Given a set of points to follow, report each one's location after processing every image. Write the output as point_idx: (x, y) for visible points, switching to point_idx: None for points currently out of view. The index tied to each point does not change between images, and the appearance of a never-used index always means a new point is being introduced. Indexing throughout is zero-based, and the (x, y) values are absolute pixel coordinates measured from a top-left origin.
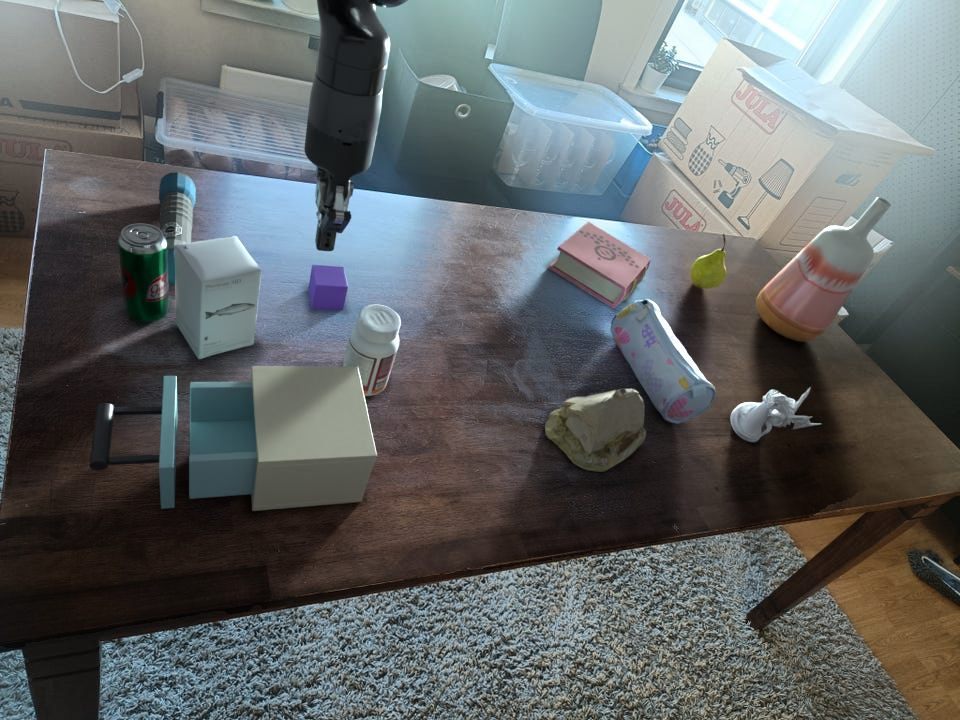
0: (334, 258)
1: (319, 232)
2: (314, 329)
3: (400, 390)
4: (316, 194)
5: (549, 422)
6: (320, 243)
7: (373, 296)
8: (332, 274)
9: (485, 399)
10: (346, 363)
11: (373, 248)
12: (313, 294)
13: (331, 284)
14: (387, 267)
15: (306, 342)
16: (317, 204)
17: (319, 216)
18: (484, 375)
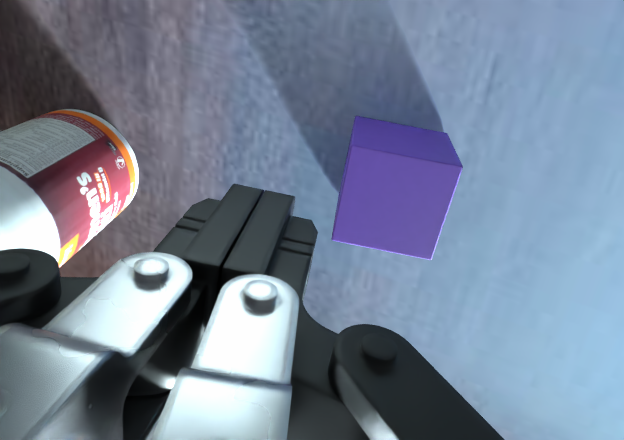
0: (566, 249)
1: (196, 237)
2: (271, 98)
3: None
4: (177, 436)
5: None
6: (211, 213)
7: (381, 288)
8: (397, 214)
9: None
10: (23, 127)
11: (576, 358)
12: (362, 131)
13: (346, 195)
14: (487, 359)
15: (221, 59)
16: (43, 369)
17: (159, 301)
18: None
